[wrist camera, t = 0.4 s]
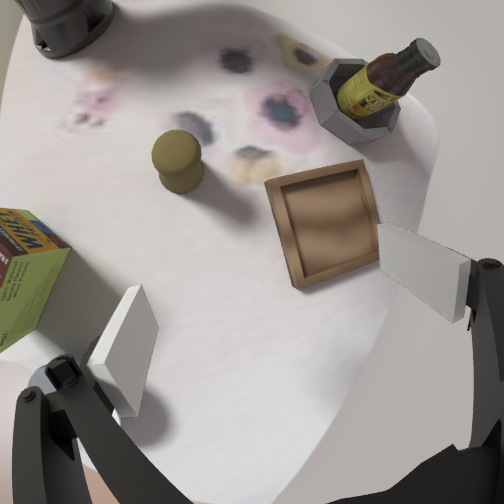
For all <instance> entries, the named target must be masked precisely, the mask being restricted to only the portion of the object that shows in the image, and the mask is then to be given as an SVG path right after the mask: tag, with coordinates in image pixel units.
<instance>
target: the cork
mask: <svg viewBox="0 0 504 504" xmlns="http://www.w3.org/2000/svg"><path fill="white" fill-rule="evenodd" d="M200 159H201V146H200V144H199V142H198V140H197V139H196V138H195V137H194V136H193V135H192V134H191V133H189V132H187V131H184V130H171V131H168V132H166V133H164V134H163V135H161V136H160V137H159V138H158V139H157V141H156V142H155V144H154V146H153V150H152V162H153V164H154V166H155V168H156V169H157V170H158V172H159V178H160V180H161V183H162V184H163V186H164V187H165V188H166V189H168V190H169V191H171V192H174V193H187V192H189V191H191V190H193V189H194V188H195V187H196V186H198V184H199V183H200V181H201V179H202V175H203V165H202V163H201V161H200Z"/></svg>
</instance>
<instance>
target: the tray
mask: <svg viewBox="0 0 504 504" xmlns="http://www.w3.org/2000/svg"><path fill="white" fill-rule="evenodd" d="M264 184H265V187H266V191H267V194H268V198H269V201H270V205H271V208H272V212H273V215H274V219H275V223H276V226H277V230H278V234H279V237H280V241H281V245H282V248H283V252H284V256H285V260H286V263H287V267H288V271H289V275H290V278H291V282H292V286H293V287H295V288H297V289H301V288H304V287H307V286H310V285H313V284H315V283H318V282H321V281H324V280H326V279H329V278H332V277H334V276H337V275H340V274H343V273H345V272H348V271H350V270H353V269H356V268H358V267H361V266H364V265H366V264H369V263H371V262H374V261H376V260H379V259H380V258H379V241H378V228H377V225H379V224H380V223H379V219H378V214H377V210H376V206H375V202H374V198H373V194H372V190H371V186H370V183H369V179H368V175H367V172H366V168H365V165H364V161H363V159H362V160H357V161H351V162H346V163H341V164H336V165H331V166H327V167H322V168H317V169H313V170H308V171H304V172H299V173H295V174H291V175H286V176H282V177H278V178H274V179H270V180H267V181H266V182H265V183H264Z"/></svg>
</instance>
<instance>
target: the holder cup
mask: <svg viewBox="0 0 504 504" xmlns="http://www.w3.org/2000/svg"><path fill="white" fill-rule="evenodd" d="M367 64H369V63H367V62H366V61H365V60H363V59H334V60H333V61H332V62H331V63H330V64H329V65H328V66H327V67H326V69H325V70H324V71H323V72H322V73H321V75H320V77H319V78H318V80H317V81H316V83H315V85H314V86H313V88H312V90H311V91H310V93H309V96H310V98H311V101H312V104H313V107H314V109H315V112H316V115H317V118H318V121H319V124H320V125H321V126H322V127H324V128H325V129H327V130H328V131H330V132H331V133H333V134H334V135H335V136H337V137H338V138H340V139H341V140H343V141H344V142H345V143H347V144H354V143H361V142H367V141H374V140H377V139H379V138H381V137H383V136H385V135H388V134H390V133H392V131H393V128H394V126H395V123H396V120H397V118H398V115H399V112H400V110H401V108H400V106H399V103H398V100H396V101H394V102H392V103H390V104H388V105H387V106H385V107H383V108H381V109H379V110H378V111H377V112H378V115H379V117H378V119H377V121H376V124H375V126H374V128H370V129H364V128H362V127H361V126H360V125H358V124H357V123H356V122H354V121H353V120H352V119H350V118H349V117H348V116H346V115H345V114H343V113H342V112H341V111H339V109H338V106H337V103H336V101H335V98H334V95H333V93H332V90H331V88H330V85H329V83H328V82H329V81H330V79H331V77H350V78H352V77H353V76H354V75H355V74H356V73H358V72H359V71H360V70H361V69H363V68H364V67H365V66H366V65H367Z"/></svg>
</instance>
